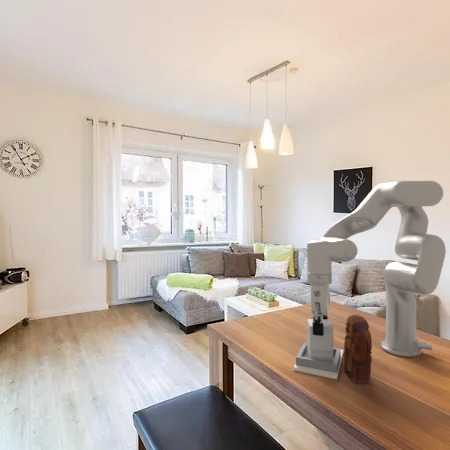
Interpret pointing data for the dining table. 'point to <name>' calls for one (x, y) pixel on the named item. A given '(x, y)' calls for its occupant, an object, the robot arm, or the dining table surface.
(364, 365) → the wooden figurine
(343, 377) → the dining table surface
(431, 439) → the dining table surface
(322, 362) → the caddy
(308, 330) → the supplement box
